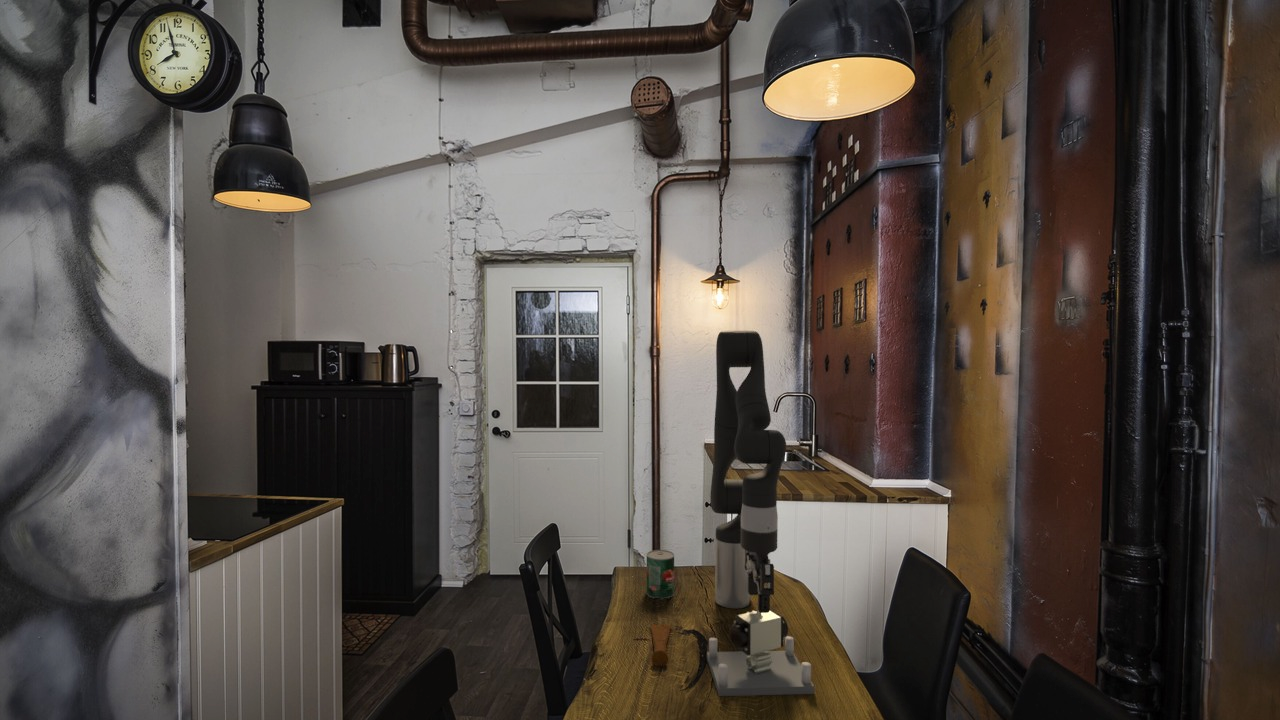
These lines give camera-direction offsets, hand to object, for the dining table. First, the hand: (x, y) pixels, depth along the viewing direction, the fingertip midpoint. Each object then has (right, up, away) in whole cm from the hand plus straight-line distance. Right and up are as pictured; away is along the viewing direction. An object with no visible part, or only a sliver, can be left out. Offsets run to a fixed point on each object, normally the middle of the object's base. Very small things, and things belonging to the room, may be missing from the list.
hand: (758, 602), depth 120 cm
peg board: (0, -15, 0) cm, 15 cm away
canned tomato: (-19, -15, +42) cm, 48 cm away
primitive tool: (-20, -16, +13) cm, 29 cm away
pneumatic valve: (0, -14, 0) cm, 14 cm away
